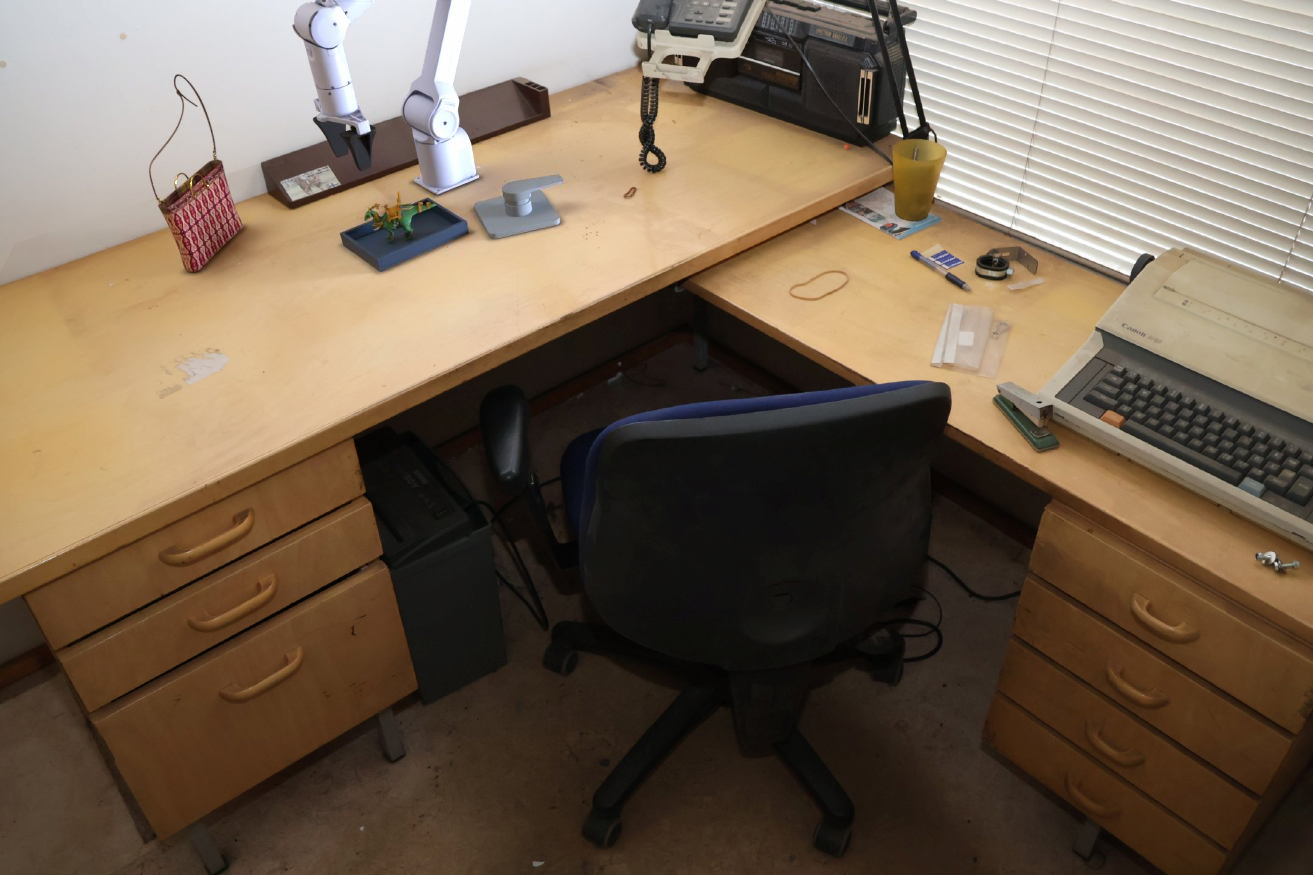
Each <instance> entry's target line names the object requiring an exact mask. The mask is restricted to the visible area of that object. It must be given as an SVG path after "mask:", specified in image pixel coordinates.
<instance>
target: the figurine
mask: <svg viewBox="0 0 1313 875" xmlns="http://www.w3.org/2000/svg"><path fill="white" fill-rule="evenodd" d="M417 202H418V201H417ZM410 204H413V201H411V202H409V203H402V201H401V192H400V191H397V197H396V204H395V205H392V206H390V207H389V205H388V204H387V203H384V204H383V205H382V206H383V208H384V210H385V212H383V215H380V214H379V213H378V211H377V210H379V209H380V207H381V204H380V203H377V202H375V203H374V204H373V205H372V206H371V207H370V206H367V211H366V212H365V214H364V218H363V221H364V222H368V221H369V219H370V220H371V219H372V220H373V221H374V225H372V226H376V227H377V228H376V229H375V230H378V229H379V228H381V229H385V230H386V231H388V232H389V234H390V235H389V236H387V237H386V238H387V239H388V238H391V240H388V241H387V242H388V243H390V242H391V241H392V239H393V236H394V232H393V230H396V229H398V228H400V227H402V228H403V229H404V230H405V231H408V232H404V234H405V235H407V234H409V235H408V236H407V237H405V239H406V240H408V239H410V237H413V236H412V235H411V234H412V231H413V229H411V224H410V222H411V218H412V216H413V215H414V214H416V213H420V212H422V211H424V210H426V209H430V208H431V207H434V206H436V205H437V204H430V202H427V203H426V204H427V205H422V204H423V203H422V202H418V205H417V206H408V205H410ZM429 204H430V205H429ZM374 209H376V210H374ZM380 216H382V217H380Z"/></svg>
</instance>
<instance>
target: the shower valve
mask: <svg viewBox="0 0 1313 875" xmlns="http://www.w3.org/2000/svg"><path fill="white" fill-rule="evenodd" d="M564 183H565V182H564V178H563V176H561V175H560V174H552V175H546V176H538V177H533V178H526V179H520V180H513V181H509V182H507V183H505V184H503V185H502V187H501V193H502V196H498V197H494V198H489V199H484V200H480V201H477V202H474V203H473V211H474V213H475V214H476V216H477V218H478V220H479V222H480V223H481V225H482V227H483V228H484V231H485V232H486V234H487V236H488V238H489V239H492V240H497V239H501V238H507V237H510V236H515V235H520V234H523V233H528V232H533V231H537V230H542V229H545V228H550V227H555V226H558V225H559V224H560V223H561V218H560V215H559V214H558V213H557V211H556V208H554V207H553V205H552V204H551V202H550V200H549V199H548V198H547V196H546V195H545V194H544V192H543V190H544V189H546V188H551V187H555V186H558V185H561V184H564Z"/></svg>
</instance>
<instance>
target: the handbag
mask: <svg viewBox="0 0 1313 875" xmlns="http://www.w3.org/2000/svg"><path fill="white" fill-rule="evenodd" d="M177 77H180V78H182V79H183V80H185V82H186V83H187V84H188V85H189V86H190V87H191V89H192V90H193V92H194V94H195V95H196V97H197V100H198V101H199V103H200V105H201V107H202V110H203V113H204V115H205V118H206V120H207V123H208V127H209V131H210V134H211V138H212V145H213V151H212V158H213V159H212V160H210V161H208V162H206V163H205V164H204V165H203V166H201V168H199V169H198V170H197V171H196V172H194V173H193V174H192V175H191V176H190V177H189V176H188V175H187V174H186V173H184V172H179V173H177V175H176V176H175V178H174V190H173V191H172V192H171V193H170V194H168V195H167V196H166V197H165V198H163V200H162V199H160V198H159V196H158V194H157V192H156V189H155V185H154V182H153V178H152V172H151V171H152V170H151V168H152V165H153V163H154V161H155V160H156V159H157V158H158V156H159V155H160V154H161V152H162V151H163V150H165V148H166V146H167V145H168V144H169V143H170V141H171V140H172V139H173V137H174V135H175V134H176V133H177V131H178V129H179V127H180V124H181V122H182V119H183V116H184V111H185V101H184V100H186V101H187V102H188V103H190V104H191V105H193V106H194V107H196V108H197V107H199V105H197V103H194V102H193V101H191V100H190V99H189V98H187V97H186V96H185V95H184V94H183V93H182V92H181V91H180V89H178V87H177V84H176V81H177ZM173 87H174V88H175V92H176V94H177V96H179V98H180V100H181V104H182V105H181V106H182V108H181V114H180V118H179V120H178V123H177V126H176V127H175V129H174V131H173V132H172V134H171V135H170V136H169V138H168V139H167V140H166V142H165V143H164V144H163V146H161V148H160V149H159V150H158V152H157V153H156V154H155V155H154V157H153V158H152V160H150V162H149V167H148V174H149V181H150V183H151V188H152V191H153V194H154V196H155V199H156V201H157V202H158V204H157V207H158V209H159V211H160V212H161V214H162V216H163V218H164V220H165V222H166V224H167V226H168V228H169V230H170V232H171V234H172V237H173V239H174V240H175V244H176V246H177V249H178V252H179V256H180V258H181V261H182V265H183V268H184V270H185V271H186V272H187V273H189V272H190V273H197V272H199V271H201V269H202V268H204V266H205V265H207V263H208V262H209V261H210V260H211V259H212V258H213V257H214V256H215V255H216V254H217V253H218V252H219V251H220V250H221V249H222V248H223V247H224V246H225V245H226V244H227V243H228V242H229V241H230V240H232V238H234V237H235V236H236V235H237V234H238V233H239V232H240V231H241V230H242V229H243V222H242V219H241V217H240V215H239V213H238V210H237V209H236V205H235V203H234V200H233V196H232V194H231V189H230V187H229V183H228V179H227V176H226V172H225V167H224V164H223V160H221V159H218V158H217V147H216V146H217V145H216V140H215V135H214V131H213V127H212V124H211V121H210V118H209V115H208V112H207V109H206V106H205V104H204V102H203V99H202V98H201V96H200V94H199V93H198V91H197V90H196V88H195V87H194V85H193V84H192V83H191V82H190V81H189V79H188V78H186V77H185V76H184V75H182V74H180V73H177V74H175V75H174V77H173ZM180 175H183V176H184V177H185V178H186V180H185V181H184V182H183V183H182V184H181V185H179V186H178V187H177V179H178V178H179V176H180Z"/></svg>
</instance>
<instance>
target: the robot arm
mask: <svg viewBox="0 0 1313 875" xmlns="http://www.w3.org/2000/svg"><path fill="white" fill-rule="evenodd" d="M376 1H377V0H314V1H309V2H308V1H307V2H304V3H303V4H301V5H300V6H299V7H298V8H297V9H296V11H295V15H294V18H293V24H292V25H291V27H292V29H293V31H294V33H295V34H296V36H298V37H299V39H301V40H302V41H303V44H304V48H305V52H306V55H307V60H308V64H309V67H310V71H311V75H312V79H313V82H314V86H315V90H316V93H317V98H313V103H314V107H315V110H316V112H318V114H316V116H314V117H313V118H312V122H313V123H314V124H315V125H316V126H317V128H318V129H319V130H320V131H321V132H322V134H323V136H324V137H325V139H326V141H327V142H328V145H329V147H330V149H331V150H332V152H333V154H334V156H335V157H336V158H338V159H339V158H342V157H345V156H346V155H347V156H348V155H349V152H350V153H351V157H352V159H353V161H354V164H355V166H356V168H357V170H358V171H359V172H363V171H366V170H369V169H371V168H372V162H373V160H372V158H373V157H372V156H373V155H372V152H373V144H374V139H375V136H376V133H377V129H376V126H374V125H372V124H370V121H369V119H368V118H366V116H365V115H364V114H363V111H362V109H361V107H360V106H359V104H358V102H357V97H356V93H355V89H354V85H353V81H352V76H351V72H350V69H349V64H348V60H347V56H346V53H345V49H344V45H343V44H344V43H343V42H344V40H345V38H346V36H347V35H346V34H347V29H348V28H349V27H350V25H352V24H353V23H354V22H355V21H356V20H357V19H358V18H360V17H361V15H362V14H364V13H365V12H366V11H368V9H369V8H371V7H372V6H373V5H374V4H375V3H376ZM471 4H472V0H436V3H435V7H434V12H433V17H432V23H431V27H430V30H429V34H428V35H429V36H428V41H427V45H426V49H425V53H424V54H425V55H424V58H423V59H424V60H423V64H422V70H421V74H420V75H419V76H418V77H417V78H415V79H414V80H413V81H412V82H411V83H410V87H409V90H408V94H407V95H405V97H404V98H403V101H402V104H401V106H400V107H401V108H400V114H401V117H402V120H403V121H404V123H405V124H406V125H408V126H409V127H410V128H411V129H410V130H411V133H412V138H413V143H414V147H415V152H416V157H417V161H418V166H419V172H420V175H419V176H416V177H414V178H413V179H412V181H413V182H414V183H415V184H416V185H418V186H420V187H422V188H423V189H425V190H427V191H429V192H430V193H432V194H434V195H439V194H443V193H445V192H447V191H450V190H452V189H455V188H457V187H459V186H462V185H465V184H468V183H470V182H473V181H474V180H477V179H479V178H480V175H479V174H477V171H476V165H475V159H474V153H473V148H472V143H471V140H470V138H469V136H468V133H467V132H466V131H465V129H464V128H462V127H461V126H459V125H460V117H459V116H460V115H459V105H460V99H459V96H458V94H457V92H456V89H455V87H454V81H455V76H456V72H457V68H458V62H459V58H460V53H461V49H462V45H463V40H464V35H465V30H466V26H467V22H468V18H469V14H470V13H469V12H470V8H471ZM347 125H348V127H349V129H347Z"/></svg>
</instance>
